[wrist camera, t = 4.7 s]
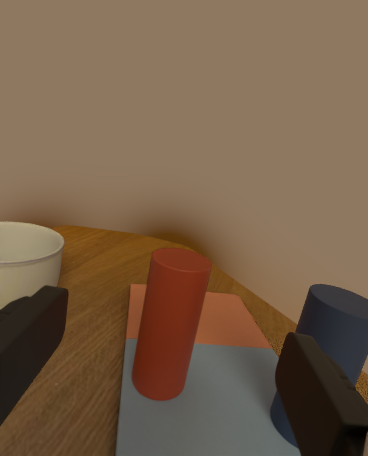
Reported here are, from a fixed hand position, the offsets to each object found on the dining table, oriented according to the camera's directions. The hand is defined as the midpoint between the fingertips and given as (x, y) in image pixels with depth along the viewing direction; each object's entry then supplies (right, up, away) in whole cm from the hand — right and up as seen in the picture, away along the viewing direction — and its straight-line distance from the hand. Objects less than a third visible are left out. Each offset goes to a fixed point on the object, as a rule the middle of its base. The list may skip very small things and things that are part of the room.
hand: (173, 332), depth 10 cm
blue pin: (+9, -12, +12) cm, 19 cm away
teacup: (-21, -5, +21) cm, 30 cm away
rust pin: (-2, -9, +14) cm, 17 cm away
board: (+2, -9, +20) cm, 22 cm away
